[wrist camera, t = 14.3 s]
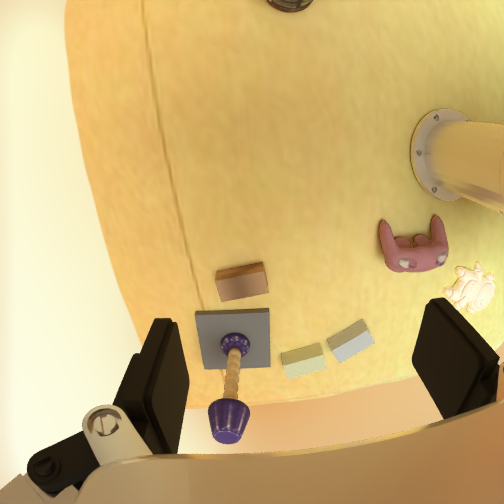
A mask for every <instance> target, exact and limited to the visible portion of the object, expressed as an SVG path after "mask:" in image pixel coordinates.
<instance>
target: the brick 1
mask: <svg viewBox="0 0 504 504" xmlns="http://www.w3.org/2000/svg"><path fill="white" fill-rule="evenodd" d="M215 283H216V286H217V289H218V292H219V296H220V299H221V302H225V301H230V300H235V299H240V298H245V297H250V296H255V295H260V294H265V293H269V290H268V283H267V278H266V274H265V269H264V265H263V262H259V263H255V264H250V265H245V266H240V267H235V268H231V269H226V270H221V271H217V274H216V279H215Z"/></svg>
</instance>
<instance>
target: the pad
mask: <svg viewBox="0 0 504 504" xmlns="http://www.w3.org/2000/svg"><path fill="white" fill-rule="evenodd" d="M195 318H196V324H197V330H198V336H199V342H200V347H201V353H202V358H203V364H204V369H226V368H227V366H228V365H227V361H228V359H229V357H227V356H226V355H225V354H224V353H223V352H222V350H221V346H220V342H221V339H222V338H223V337H224V336H225V335H227V334H230V333H240V334H242V335H244V336H246V337H247V338H248V340H249V341H250V349H249V351H248V353H247V354H246V355H245V356H244V357H241V358H240V367H239V368H262V367H270V324H269V308H265V309H246V310H222V311H196V313H195Z"/></svg>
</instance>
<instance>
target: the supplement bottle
mask: <svg viewBox="0 0 504 504" xmlns="http://www.w3.org/2000/svg"><path fill="white" fill-rule="evenodd" d="M267 1H268V2H269V3H270V4H271V5H272V6H274V7H275V8H277V9H279V10H282V11H287V12H295V11H300V10H303V9H305V8H306V7H308V6H309V5H310V4H311V2H312V1H313V0H267Z"/></svg>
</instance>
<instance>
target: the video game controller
mask: <svg viewBox="0 0 504 504" xmlns="http://www.w3.org/2000/svg"><path fill="white" fill-rule="evenodd" d="M379 234H380V241H381V245H382V249H383V252H384V255H385V263H386V266H387V267H388V268H389V269H390V270H392V271H395V272H404V271H405V272H424V271H428V270H432V269H434V268H436V267H438V266H442V265H443V264H444V263H445V261H446V259H447V256H448V250H449V248H448V242H447V238H446V233H445V229H444V225H443V222H442V220H441V219H440V217H439V216H437V215H435V216H434V217H433V218H432V222H431V234H432V241H431V240H429V239H428V238H427V237H426V236H424V235H417V236H416V237H415V239H414V242H413V247H414V248H410V246H411V245H410V242H409V240H408V239H406V238H404V237H398V238H396V239H395V240H394V237H393V234H392V230H391V227H390V226H389V224H388V223H387V222H386V221H382V222H381V223H380V226H379Z"/></svg>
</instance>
